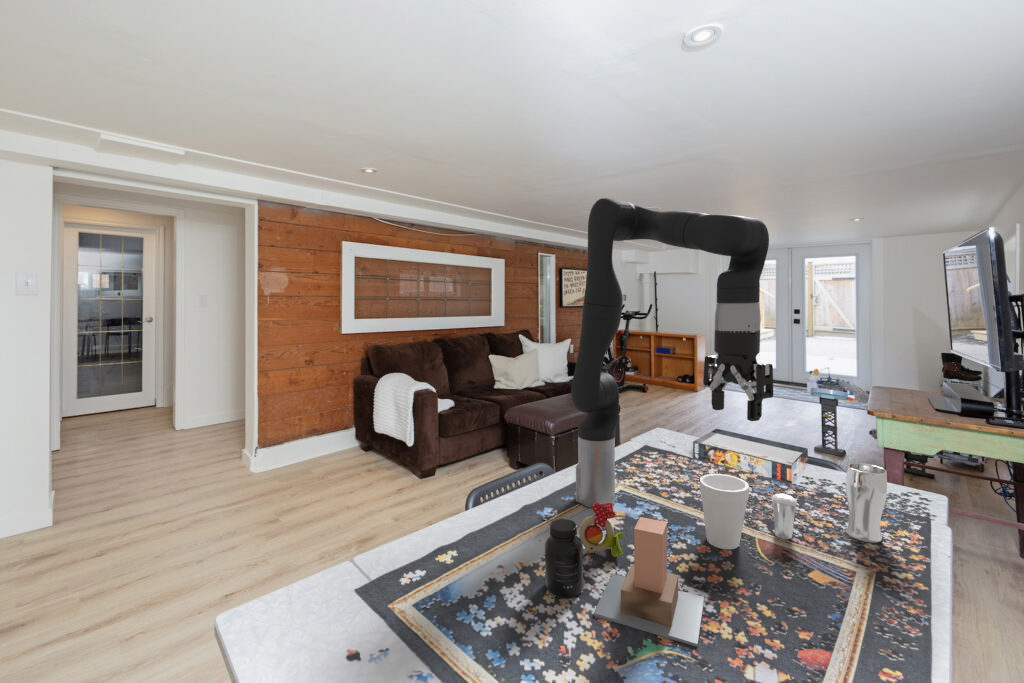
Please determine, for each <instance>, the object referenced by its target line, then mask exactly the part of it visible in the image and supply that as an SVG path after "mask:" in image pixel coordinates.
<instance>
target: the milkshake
mask: <svg viewBox="0 0 1024 683" xmlns="http://www.w3.org/2000/svg"><path fill="white" fill-rule="evenodd" d="M800 495H801V492H800V491H799V493H798V494H797V496H796V498H794V497H793V496H791V495H790V494H786V493H775V494H774V495H772V497H771V501H772V510H773V511H772V512H773V522H774V523H773V524H774V536H775V537H777V538H779V539H782V540H791V539H792V537H793V529H794V522H795V515H796V509H797V503H798V502H797V501H798V499H799V496H800Z"/></svg>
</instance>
